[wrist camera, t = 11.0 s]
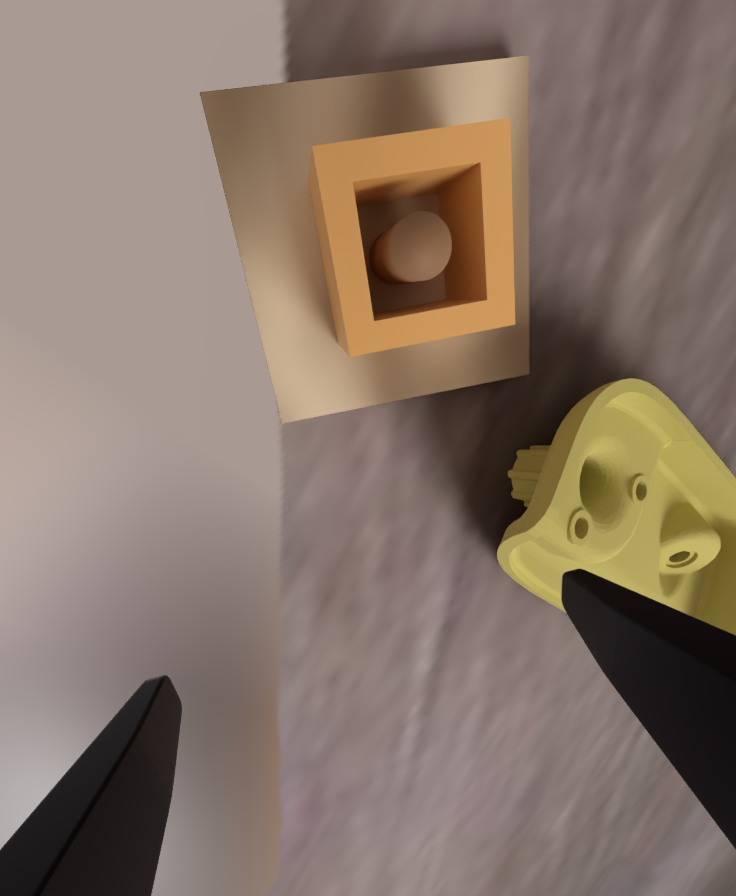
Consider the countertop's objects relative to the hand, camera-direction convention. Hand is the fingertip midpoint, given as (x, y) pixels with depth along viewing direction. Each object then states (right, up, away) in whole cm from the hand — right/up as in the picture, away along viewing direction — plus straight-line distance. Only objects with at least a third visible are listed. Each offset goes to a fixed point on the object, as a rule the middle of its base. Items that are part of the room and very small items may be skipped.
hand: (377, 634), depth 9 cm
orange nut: (+1, +12, +8) cm, 14 cm away
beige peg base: (+1, +12, +8) cm, 15 cm away
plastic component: (+14, +1, +16) cm, 21 cm away
